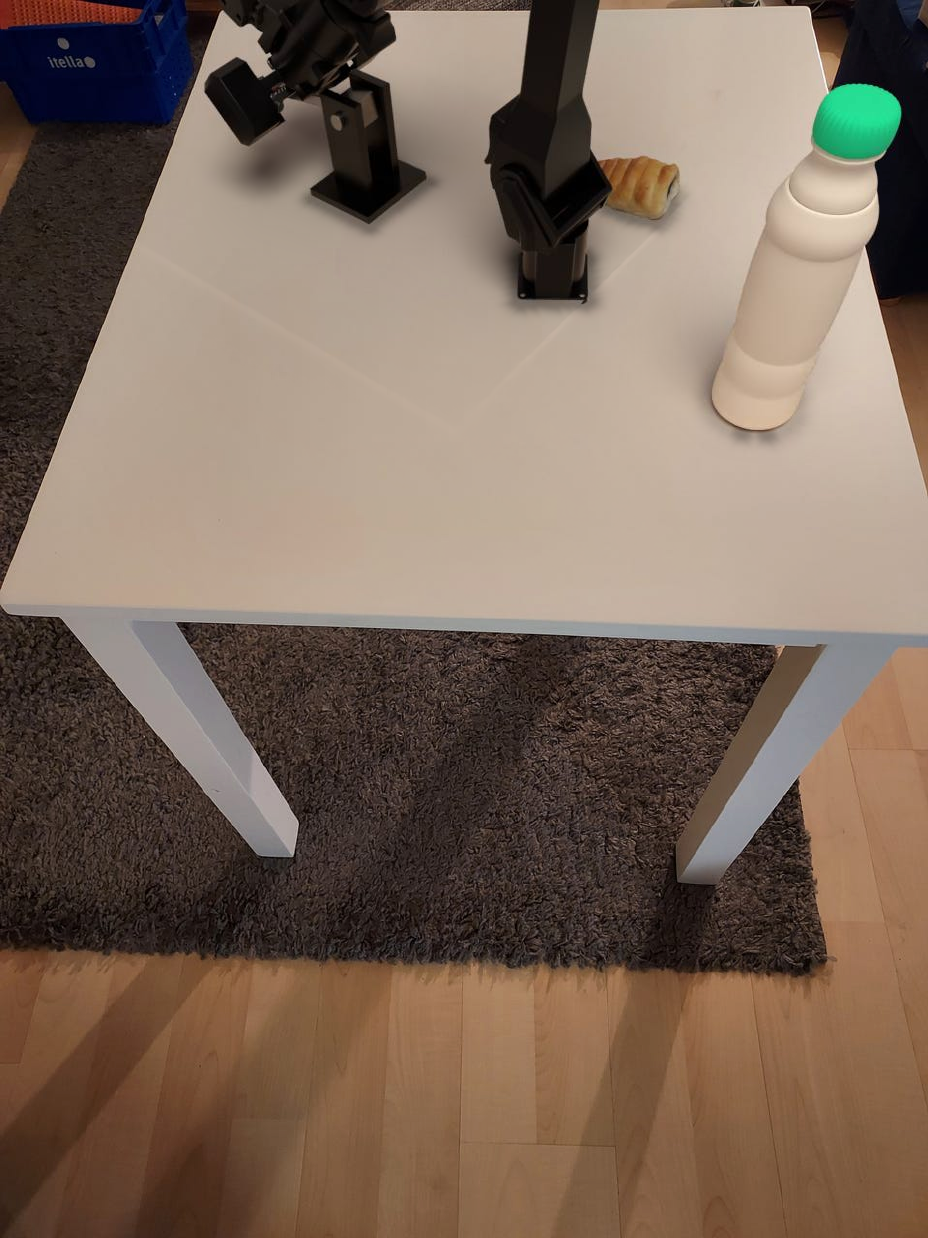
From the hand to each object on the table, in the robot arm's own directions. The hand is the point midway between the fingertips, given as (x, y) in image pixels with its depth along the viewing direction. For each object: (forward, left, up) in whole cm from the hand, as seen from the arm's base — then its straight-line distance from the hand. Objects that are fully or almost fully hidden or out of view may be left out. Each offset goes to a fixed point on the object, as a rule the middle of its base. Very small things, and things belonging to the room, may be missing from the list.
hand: (266, 106), depth 88 cm
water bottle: (-36, -47, -4) cm, 60 cm away
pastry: (-9, -38, -4) cm, 40 cm away
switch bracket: (-8, -11, -4) cm, 14 cm away
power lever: (-5, -7, +2) cm, 9 cm away
